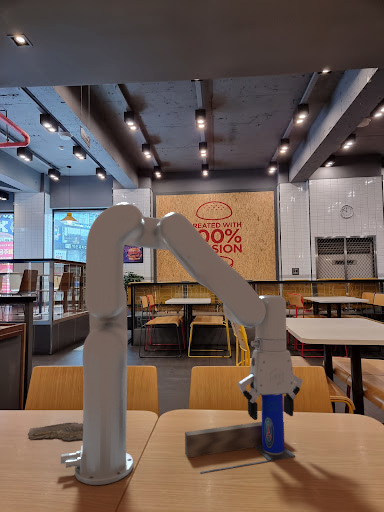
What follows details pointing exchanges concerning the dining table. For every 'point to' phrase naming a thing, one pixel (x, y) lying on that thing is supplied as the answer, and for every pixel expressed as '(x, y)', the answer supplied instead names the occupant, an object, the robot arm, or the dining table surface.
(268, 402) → the beverage can
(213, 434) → the guide fence
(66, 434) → the wooden fragment
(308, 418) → the dining table surface
